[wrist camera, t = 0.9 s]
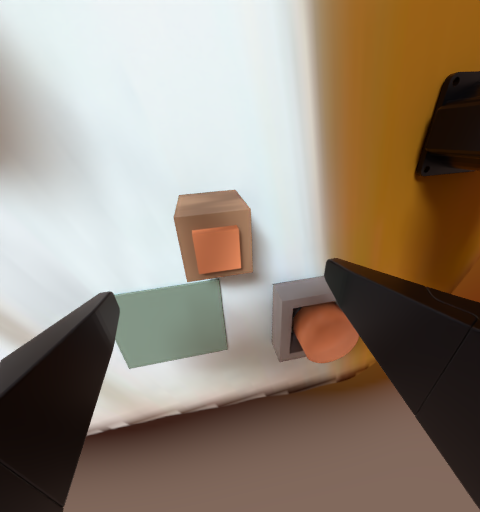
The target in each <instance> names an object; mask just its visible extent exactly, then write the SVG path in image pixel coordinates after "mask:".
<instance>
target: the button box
mask: <svg viewBox="0 0 480 512" xmlns="http://www.w3.org/2000/svg"><path fill="white" fill-rule="evenodd" d="M332 301H336V299H335V297H334V296H333V294H332V292H331V290H330V288H329V286H328V284H327V283H326V281H325V278H324V276H321V277H315V278H309V279H303V280H296V281H290V282H284V283H278V284H273V313H272V344H273V347H274V349H275V352H276V354H277V357H278V360H279V362H283V361H287V360H292V359H297V358H302V357H306V354H305V352H304V350H303V349H302V347H301V345H300V343H299V341H298V339H297V337H296V335H295V333H294V332H291V326H292V314H293V308H298V307H304V306H309V305H315V304H320V303H326V302H332ZM336 304H337V305H338V303H337V301H336ZM338 307H339V308H340V306H339V305H338ZM340 309H341V308H340Z"/></svg>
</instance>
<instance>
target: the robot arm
mask: <svg viewBox="0 0 480 512" xmlns="http://www.w3.org/2000/svg"><path fill="white" fill-rule="evenodd" d="M453 80H454V82H453ZM424 169H425V170H424ZM469 171H480V71H479V72H458V73H454V74H450V75H449V76H448V77H447V78H446V79H445V82H444V84H443V87H442V90H441V94H440V97H439V100H438V103H437V106H436V110H435V113H434V116H433V119H432V122H431V126H430V129H429V132H428V135H427V138H426V142H425V145H424V148H423V151H422V154H421V158H420V161H419V164H418V167H417V174H418V175H421V176H430V175H440V174H450V173H460V172H469ZM324 278H325V281H326V283H327V284H328V286H329V288H330V290H331V292H332V294H333V296H334V297H335V299H336V301H337V303H338V305H339V306H340V308H341V310H342V311H343V313H344V314H345V315H346V317H347V318H348V320H349V321H350V323H351V324H352V326H353V327H354V328H355V330H356V331H357V333H358V334H359V336H360V337H361V339H362V340H363V342H364V343H365V344H366V346H367V347H368V349H369V350H370V352H371V353H372V355H373V356H374V357H375V359H376V360H377V362H378V363H379V365H380V366H381V368H382V369H383V370H384V372H385V373H386V375H387V376H388V378H389V379H390V380H391V382H392V383H393V385H394V386H395V388H396V389H397V391H398V392H399V394H400V395H401V396H402V398H403V399H404V401H405V402H406V404H407V405H408V407H409V408H410V409H411V410H412V412H413V414H414V415H416V416H415V417H416V418H417V420H418V421H419V423H420V424H421V426H422V427H423V428H424V430H425V431H426V433H427V434H428V436H429V437H430V439H431V440H432V442H433V443H434V444H435V446H436V447H437V449H438V450H439V452H440V453H441V455H442V456H443V457H444V459H445V460H446V462H447V463H448V465H449V466H450V467H451V469H452V470H453V472H454V473H455V475H456V476H457V478H458V479H459V480H460V482H461V484H462V485H463V486H464V488H465V489H466V491H467V492H468V494H469V495H470V496H471V498H472V499H473V501H474V502H475V504H476V505H477V506H478V508H479V509H480V303H479V302H475V301H472V300H469V299H465V298H462V297H458V296H455V295H452V294H448V293H445V292H442V291H439V290H435V289H432V288H429V287H425V286H423V285H420V284H416V283H413V282H410V281H407V280H404V279H401V278H398V277H395V276H391V275H388V274H385V273H382V272H379V271H376V270H373V269H369V268H366V267H363V266H360V265H357V264H354V263H351V262H348V261H344V260H341V259H338V258H333V259H328V260H327V262H326V267H325V273H324ZM119 315H120V308H119V305H118V303H117V300H116V298H115V296H114V294H113V293H112V292H103V293H99V294H98V295H96V296H95V297H93V298H92V299H90V300H89V301H87V302H86V303H84V304H83V305H82V306H80V307H79V308H77V309H76V310H74V311H73V312H71V313H70V314H68V315H67V316H65V317H64V318H62V319H61V320H59V321H58V322H57V323H55V324H54V325H52V326H51V327H49V328H48V329H46V330H45V331H43V332H42V333H40V334H39V335H37V336H36V337H34V338H33V339H32V340H30V341H29V342H27V343H26V344H24V345H23V346H21V347H20V348H18V349H17V350H15V351H14V352H12V353H11V354H9V355H8V356H7V357H5V358H4V359H2V360H1V362H0V512H63V507H64V505H65V502H66V499H67V496H68V493H69V490H70V486H71V483H72V480H73V477H74V473H75V470H76V467H77V464H78V461H79V457H80V454H81V451H82V448H83V445H84V441H85V438H86V435H87V432H88V428H89V425H90V422H91V419H92V416H93V412H94V409H95V406H96V403H97V400H98V396H99V393H100V390H101V387H102V383H103V380H104V377H105V374H106V371H107V367H108V364H109V361H110V358H111V354H112V351H113V347H114V343H115V337H116V332H117V326H118V321H119Z"/></svg>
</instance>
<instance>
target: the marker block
mask: <svg viewBox="0 0 480 512" xmlns="http://www.w3.org/2000/svg"><path fill="white" fill-rule="evenodd" d="M174 222H175V226H176V231H177V236H178V241H179V245H180V250H181V255H182V260H183V264H184V269H185V274H186V279H187V282H191V281H198V280H204V279H211V278H217V277H224V276H231V275H237V274H244V273H251V272H253V266H252V235H251V209H250V208H249V206H248V205H247V204H246V203H245V201H244V200H243V199H242V198H241V196H240V195H239V194H238V193H237V191H236V190H227V191H217V192H207V193H196V194H186V195H179V198H178V202H177V206H176V210H175V214H174Z"/></svg>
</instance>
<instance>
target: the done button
mask: <svg viewBox="0 0 480 512" xmlns="http://www.w3.org/2000/svg"><path fill="white" fill-rule="evenodd" d="M292 329H293V331H294V333H295V335H296V337H297V339H298V341H299V343H300V345H301V347H302V349H303V350H304V352H305V354H306V356H307V358H308V359H309V360H311V361H313V362H316V363H327V362H331V361H334V360H337V359H339V358H341V357H342V356H344V355H346V354H347V353H348V352H349V351H350V350H351V349H352V348H353V347H354V346H355V344H356V343H357V341H358V338H359V334H358V333H357V331H356V330H355V328H354V327H353V326H352V324H351V323H350V321H349V320H348V318H347V317H346V315H345V314H344V313H343V311H342V310H341V309H340V308H339V307H338V305H337V304H336V303H335V302H333V301H332V302H326V303H320V304H315V305H309V306H304V307H302V308H301V309H300V310H299V311H298V312H297V313H296V315H295V316H294V318H293V321H292Z"/></svg>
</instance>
